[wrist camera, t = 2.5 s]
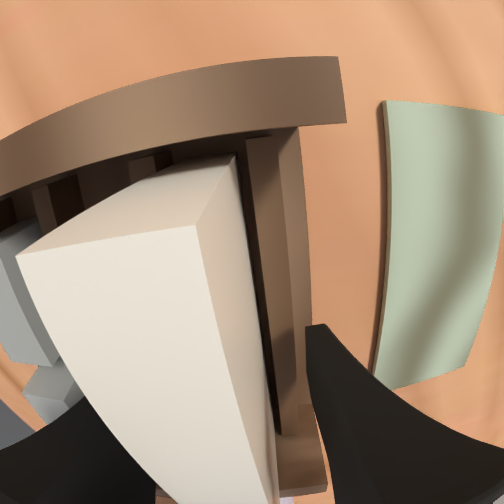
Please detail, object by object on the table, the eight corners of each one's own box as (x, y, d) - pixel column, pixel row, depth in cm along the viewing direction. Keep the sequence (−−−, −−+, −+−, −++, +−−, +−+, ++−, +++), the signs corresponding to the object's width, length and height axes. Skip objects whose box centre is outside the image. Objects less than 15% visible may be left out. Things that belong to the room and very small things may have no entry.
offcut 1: (54, 309, 12) (11, 361, 8) (22, 219, 10) (-39, 256, 6) (94, 306, 12) (52, 366, 8) (61, 208, 10) (-4, 246, 6)
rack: (101, 411, 16) (75, 479, 11) (-2, 168, 10) (-91, 201, 4) (459, 367, 15) (498, 428, 10) (499, 105, 9) (591, 116, 4)
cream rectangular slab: (237, 405, 14) (234, 547, 7) (182, 159, 9) (16, 255, 2) (272, 402, 14) (283, 546, 7) (236, 151, 9) (196, 224, 2)
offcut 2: (102, 397, 14) (78, 458, 10) (64, 330, 12) (21, 392, 8) (139, 400, 14) (119, 467, 10) (103, 329, 12) (63, 400, 8)
